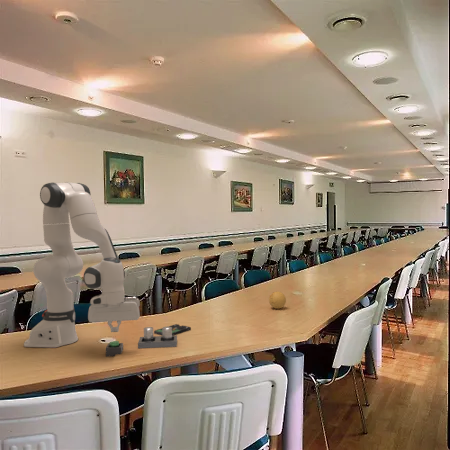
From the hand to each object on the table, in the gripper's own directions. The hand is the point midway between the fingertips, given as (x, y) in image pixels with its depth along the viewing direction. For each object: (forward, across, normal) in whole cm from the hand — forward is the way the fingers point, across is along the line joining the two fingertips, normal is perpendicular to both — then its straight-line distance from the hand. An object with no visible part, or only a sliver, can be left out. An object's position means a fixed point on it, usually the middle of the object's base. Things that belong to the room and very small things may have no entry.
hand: (114, 331), depth 176 cm
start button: (+6, 0, 0) cm, 6 cm away
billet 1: (+8, -13, -8) cm, 17 cm away
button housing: (+9, 0, 0) cm, 9 cm away
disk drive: (+10, -22, -27) cm, 37 cm away
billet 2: (+9, -20, -8) cm, 24 cm away
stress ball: (+10, -81, -70) cm, 108 cm away
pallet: (+9, -16, -8) cm, 21 cm away
